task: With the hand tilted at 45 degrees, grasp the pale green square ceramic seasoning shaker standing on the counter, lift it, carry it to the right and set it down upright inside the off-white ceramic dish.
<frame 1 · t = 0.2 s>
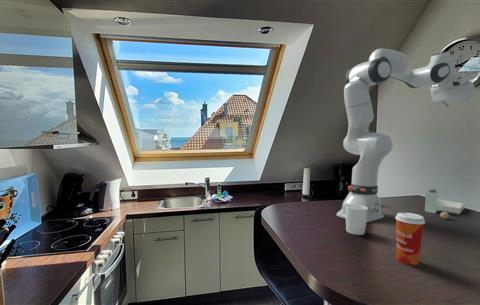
hand: (455, 106, 143), 54 cm above the breakfast bar, tool tilted 30°, fingers open, 8 cm apart
dish: (447, 209, 143), on the breakfast bar
shaker: (430, 211, 138), on the breakfast bar
white cup: (355, 232, 106), on the breakfast bar
paper cup: (407, 261, 82), on the breakfast bar
ball: (444, 218, 126), on the breakfast bar
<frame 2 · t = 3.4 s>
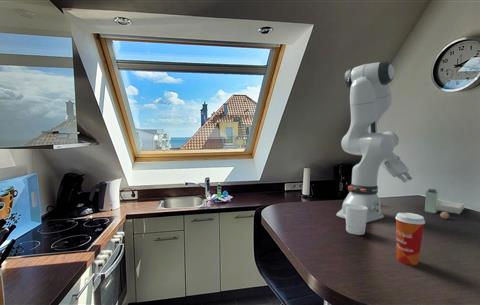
hand: (408, 180, 144), 14 cm above the breakfast bar, tool tilted 45°, fingers open, 8 cm apart
nothing on the breakfast bar moved.
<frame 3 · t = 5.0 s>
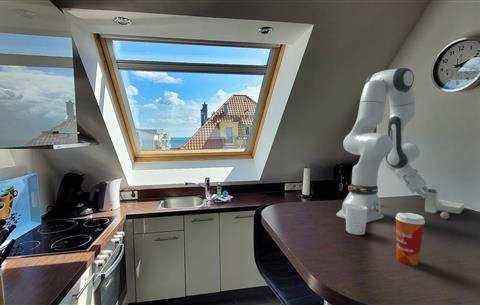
hand: (427, 195, 139), 8 cm above the breakfast bar, tool tilted 45°, fingers open, 8 cm apart
nothing on the breakfast bar moved.
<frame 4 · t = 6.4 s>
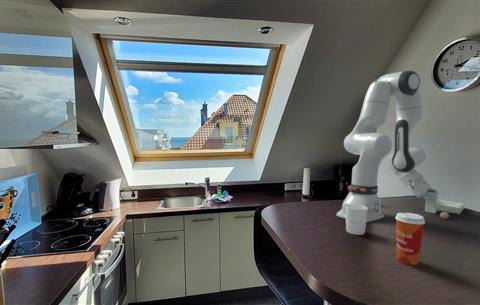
hand: (433, 201, 137), 5 cm above the breakfast bar, tool tilted 45°, fingers closed on shaker, 4 cm apart
shaker: (430, 211, 138), on the breakfast bar, touching gripper
everything else where it was.
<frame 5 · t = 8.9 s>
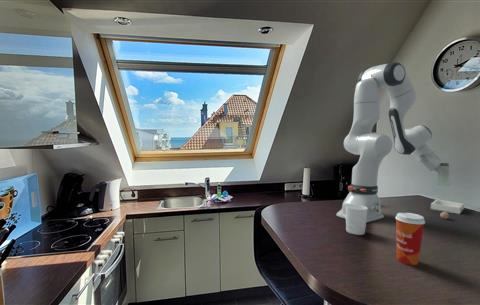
hand: (445, 174, 139), 19 cm above the breakfast bar, tool tilted 45°, fingers closed on shaker, 4 cm apart
shaker: (443, 184, 140), point 13 cm above the breakfast bar, touching gripper
everything else where it was.
when the fingers open (7 cm above the breakfast bar, at t = 11.6 s): shaker drops 1 cm, resting on dish.
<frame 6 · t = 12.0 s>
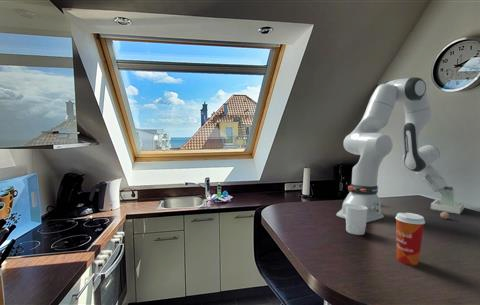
hand: (449, 195, 142), 7 cm above the breakfast bar, tool tilted 45°, fingers open, 8 cm apart
shaker: (447, 208, 143), point 1 cm above the breakfast bar, touching dish
everything else where it was.
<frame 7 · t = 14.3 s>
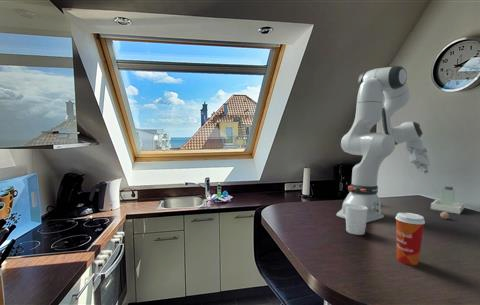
hand: (423, 172, 149), 18 cm above the breakfast bar, tool tilted 25°, fingers open, 8 cm apart
nothing on the breakfast bar moved.
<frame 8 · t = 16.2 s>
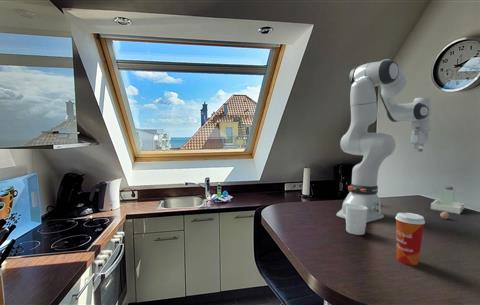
hand: (418, 151, 153), 29 cm above the breakfast bar, tool pointing down, fingers open, 8 cm apart
nothing on the breakfast bar moved.
at the end: shaker inside the target area on the dish (0.1 cm from its centre), point 0.6 cm above the dish's base; shaker tilted 0°; the gripper is holding nothing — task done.
